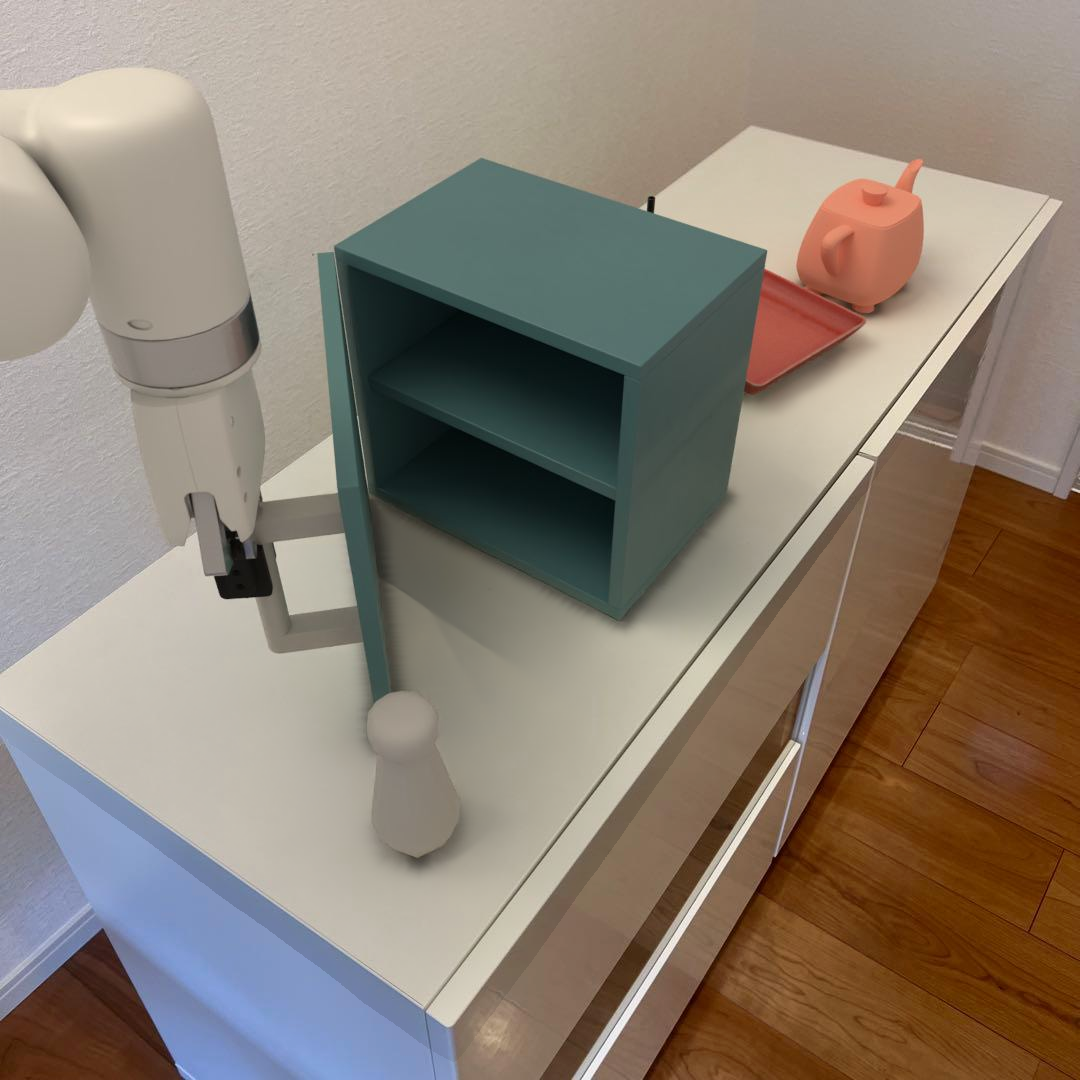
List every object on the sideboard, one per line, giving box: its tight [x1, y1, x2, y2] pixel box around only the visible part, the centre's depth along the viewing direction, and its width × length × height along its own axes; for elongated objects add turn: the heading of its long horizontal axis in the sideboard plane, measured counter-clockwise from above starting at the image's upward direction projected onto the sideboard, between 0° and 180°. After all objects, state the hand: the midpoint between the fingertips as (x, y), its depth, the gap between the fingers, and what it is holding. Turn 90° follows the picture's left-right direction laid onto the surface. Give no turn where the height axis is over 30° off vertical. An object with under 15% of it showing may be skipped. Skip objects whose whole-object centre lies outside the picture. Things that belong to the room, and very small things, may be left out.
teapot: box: [795, 158, 925, 314], centre depth 118 cm, size 20×12×12 cm, turn 140°
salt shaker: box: [366, 689, 461, 859], centre depth 67 cm, size 6×6×13 cm
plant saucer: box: [744, 268, 867, 396], centre depth 112 cm, size 18×18×3 cm
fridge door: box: [253, 251, 393, 705], centre depth 77 cm, size 8×26×24 cm, turn 11°
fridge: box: [333, 157, 768, 621], centre depth 88 cm, size 18×26×24 cm
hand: (249, 577), depth 68 cm, fingers closed on fridge door, 2 cm apart
